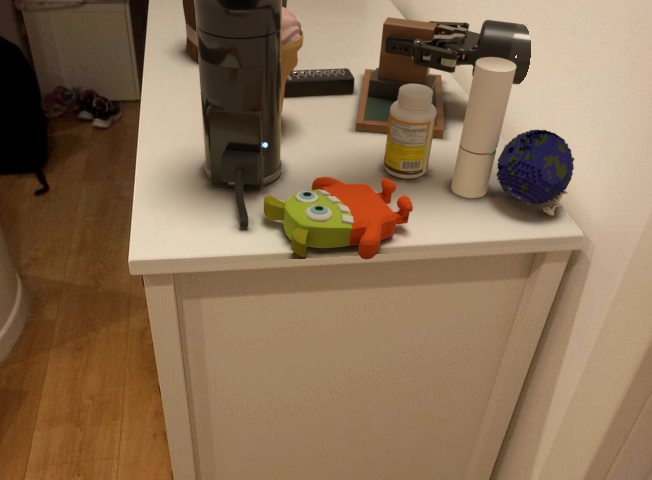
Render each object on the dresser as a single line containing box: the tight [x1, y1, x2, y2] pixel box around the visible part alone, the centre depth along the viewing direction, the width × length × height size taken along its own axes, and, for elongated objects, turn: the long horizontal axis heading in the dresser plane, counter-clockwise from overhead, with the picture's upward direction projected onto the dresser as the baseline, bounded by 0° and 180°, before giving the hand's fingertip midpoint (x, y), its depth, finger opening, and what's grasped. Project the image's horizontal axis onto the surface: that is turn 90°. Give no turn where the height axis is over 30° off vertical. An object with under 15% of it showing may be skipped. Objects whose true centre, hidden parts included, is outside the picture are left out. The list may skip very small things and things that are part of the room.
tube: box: [450, 57, 516, 199], centre depth 79 cm, size 4×4×15 cm
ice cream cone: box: [281, 7, 304, 116], centre depth 89 cm, size 11×11×20 cm
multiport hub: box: [284, 67, 356, 98], centre depth 104 cm, size 4×11×2 cm, turn 101°
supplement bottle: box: [383, 84, 437, 179], centre depth 84 cm, size 6×6×10 cm
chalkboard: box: [355, 68, 445, 139], centre depth 102 cm, size 20×12×1 cm, turn 173°
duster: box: [368, 16, 437, 101], centre depth 98 cm, size 5×9×10 cm, turn 73°
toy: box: [263, 176, 414, 260], centre depth 75 cm, size 15×4×15 cm
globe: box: [496, 129, 575, 217], centre depth 79 cm, size 8×8×8 cm
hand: (390, 37), depth 97 cm, fingers open, 4 cm apart
